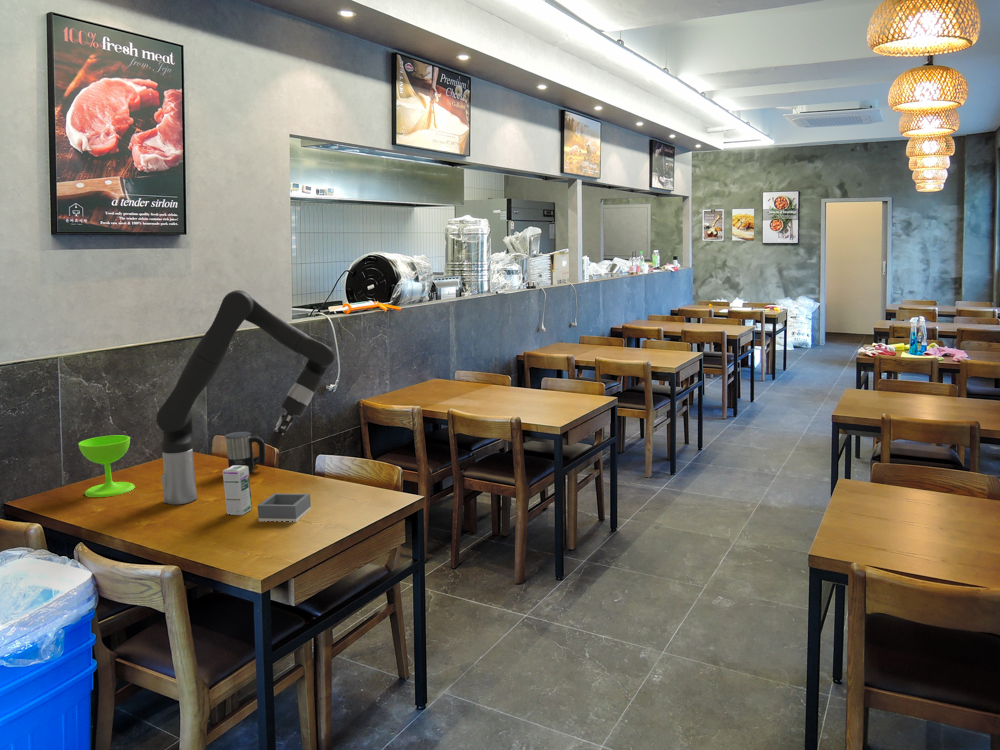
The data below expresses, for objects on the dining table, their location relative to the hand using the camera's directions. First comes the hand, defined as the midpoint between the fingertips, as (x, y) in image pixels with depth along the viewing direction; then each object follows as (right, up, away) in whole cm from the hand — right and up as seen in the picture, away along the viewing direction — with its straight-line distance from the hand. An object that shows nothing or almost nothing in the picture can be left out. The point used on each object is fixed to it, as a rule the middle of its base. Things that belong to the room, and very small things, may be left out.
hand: (272, 443), depth 248 cm
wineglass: (-62, -18, +18) cm, 67 cm away
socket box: (+8, -21, -12) cm, 26 cm away
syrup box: (-8, -21, -8) cm, 24 cm away
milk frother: (-22, -14, +40) cm, 48 cm away
